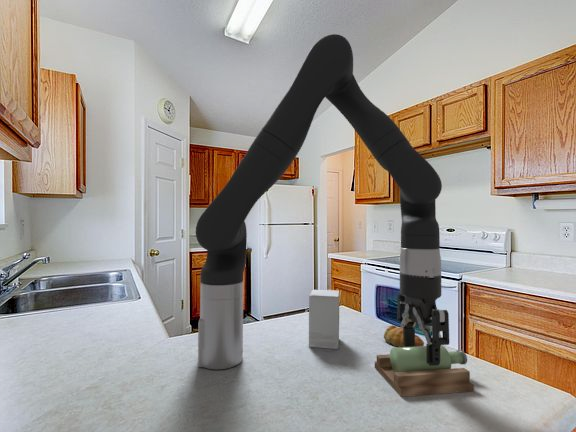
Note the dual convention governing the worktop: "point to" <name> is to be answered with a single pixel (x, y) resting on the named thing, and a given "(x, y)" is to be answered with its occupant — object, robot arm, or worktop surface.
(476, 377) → the worktop surface
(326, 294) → the supplement box
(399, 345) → the pastry
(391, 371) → the cradle
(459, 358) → the bottle
